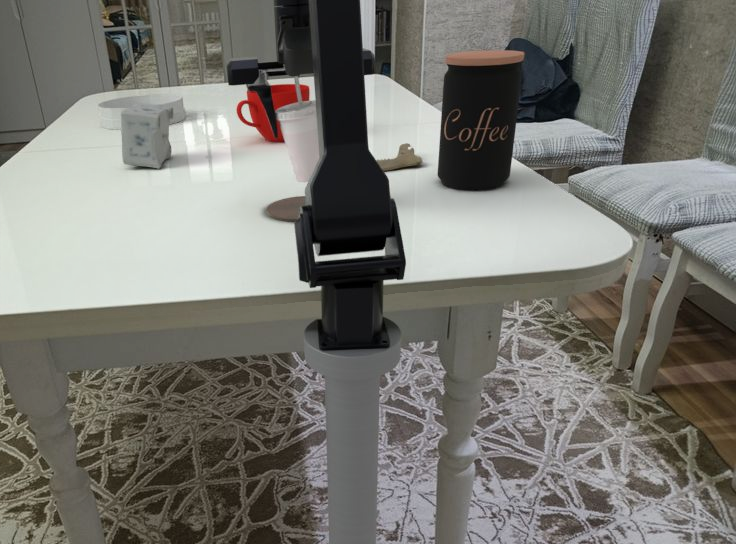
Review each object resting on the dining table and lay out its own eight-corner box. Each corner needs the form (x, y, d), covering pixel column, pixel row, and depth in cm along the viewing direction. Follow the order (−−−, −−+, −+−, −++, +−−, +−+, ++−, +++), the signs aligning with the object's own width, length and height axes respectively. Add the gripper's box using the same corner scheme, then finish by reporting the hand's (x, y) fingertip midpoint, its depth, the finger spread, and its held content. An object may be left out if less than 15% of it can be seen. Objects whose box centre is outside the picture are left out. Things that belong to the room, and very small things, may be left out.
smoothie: (341, 173, 88) (325, 65, 81) (304, 188, 85) (284, 78, 78) (314, 168, 93) (297, 66, 86) (278, 182, 90) (258, 78, 83)
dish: (91, 121, 171) (87, 102, 168) (169, 110, 179) (166, 91, 177) (114, 133, 153) (110, 111, 151) (198, 120, 162) (196, 99, 159)
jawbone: (438, 166, 109) (439, 154, 108) (334, 188, 102) (334, 175, 101) (407, 152, 116) (408, 141, 115) (308, 172, 109) (308, 160, 108)
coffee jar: (428, 188, 96) (436, 59, 87) (446, 171, 104) (455, 50, 95) (501, 194, 92) (517, 57, 83) (515, 175, 100) (530, 49, 91)
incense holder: (165, 169, 118) (157, 110, 113) (123, 170, 119) (112, 112, 114) (180, 156, 126) (172, 101, 121) (140, 157, 128) (131, 103, 123)
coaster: (345, 219, 86) (345, 216, 86) (265, 223, 87) (264, 221, 87) (340, 196, 96) (340, 194, 96) (268, 200, 96) (267, 197, 96)
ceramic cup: (223, 143, 135) (218, 93, 130) (285, 130, 143) (283, 82, 139) (259, 152, 126) (255, 98, 121) (323, 137, 134) (322, 86, 129)
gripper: (222, 11, 71) (235, 154, 79) (387, -1, 72) (384, 142, 79) (221, 10, 81) (232, 137, 88) (366, 0, 82) (365, 126, 89)
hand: (302, 136), depth 86 cm, fingers closed on smoothie, 7 cm apart
